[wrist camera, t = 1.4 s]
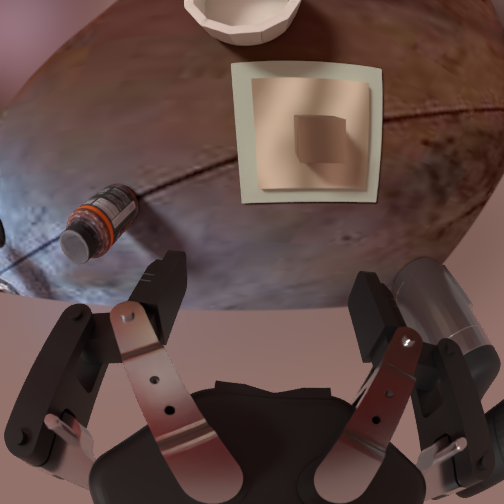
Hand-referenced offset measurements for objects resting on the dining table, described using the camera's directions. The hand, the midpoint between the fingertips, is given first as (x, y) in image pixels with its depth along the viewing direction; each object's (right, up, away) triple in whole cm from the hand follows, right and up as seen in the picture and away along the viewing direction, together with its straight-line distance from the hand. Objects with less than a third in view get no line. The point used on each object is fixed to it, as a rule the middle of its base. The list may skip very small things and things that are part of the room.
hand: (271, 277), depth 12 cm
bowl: (-1, +26, +7) cm, 27 cm away
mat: (+5, +14, +14) cm, 21 cm away
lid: (+5, +14, +14) cm, 20 cm away
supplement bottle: (-18, +8, +20) cm, 28 cm away
